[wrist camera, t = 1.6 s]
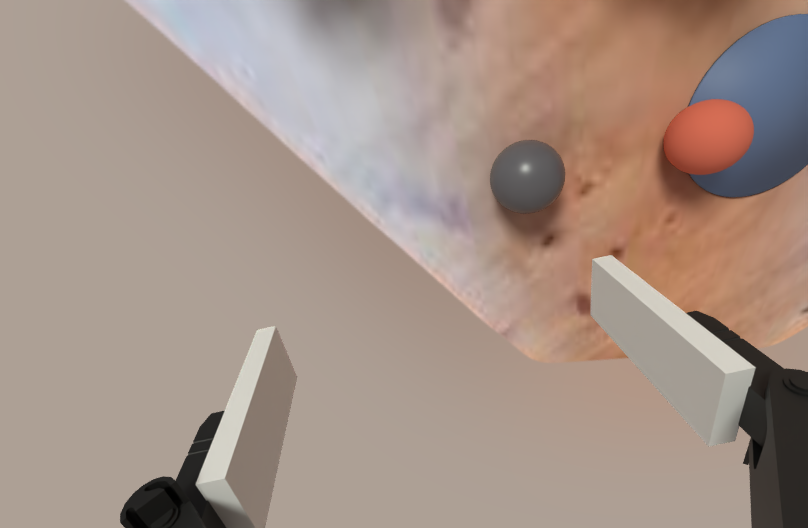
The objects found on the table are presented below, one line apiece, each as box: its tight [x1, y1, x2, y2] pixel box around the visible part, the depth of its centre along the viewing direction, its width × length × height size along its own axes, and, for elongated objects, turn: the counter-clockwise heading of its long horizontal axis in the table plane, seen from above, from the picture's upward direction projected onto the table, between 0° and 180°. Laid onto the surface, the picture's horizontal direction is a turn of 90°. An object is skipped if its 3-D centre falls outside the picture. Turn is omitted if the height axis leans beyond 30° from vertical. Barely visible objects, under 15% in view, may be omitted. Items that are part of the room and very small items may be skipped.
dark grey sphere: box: [490, 140, 565, 213], centre depth 31 cm, size 6×6×6 cm
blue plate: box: [688, 14, 808, 197], centre depth 33 cm, size 14×14×1 cm
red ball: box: [663, 99, 754, 175], centre depth 31 cm, size 6×6×6 cm
